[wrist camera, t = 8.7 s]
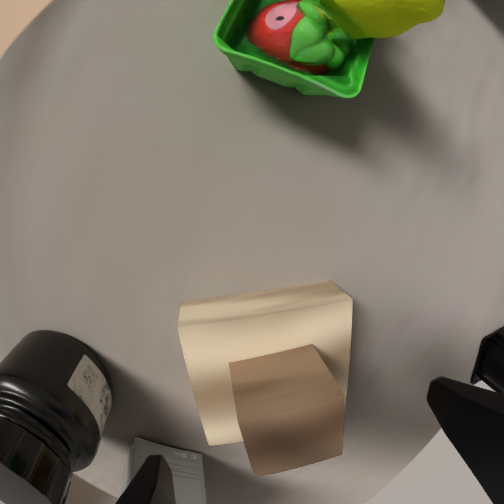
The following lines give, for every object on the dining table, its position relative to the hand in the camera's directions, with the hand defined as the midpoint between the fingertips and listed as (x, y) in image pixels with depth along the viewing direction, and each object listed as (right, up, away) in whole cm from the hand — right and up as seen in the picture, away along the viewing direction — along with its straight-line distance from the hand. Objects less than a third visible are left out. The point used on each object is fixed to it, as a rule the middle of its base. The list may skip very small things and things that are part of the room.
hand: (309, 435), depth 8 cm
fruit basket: (+1, +20, +9) cm, 22 cm away
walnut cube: (0, -3, +10) cm, 10 cm away
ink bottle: (-17, -4, +12) cm, 21 cm away
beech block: (-1, -2, +14) cm, 14 cm away
